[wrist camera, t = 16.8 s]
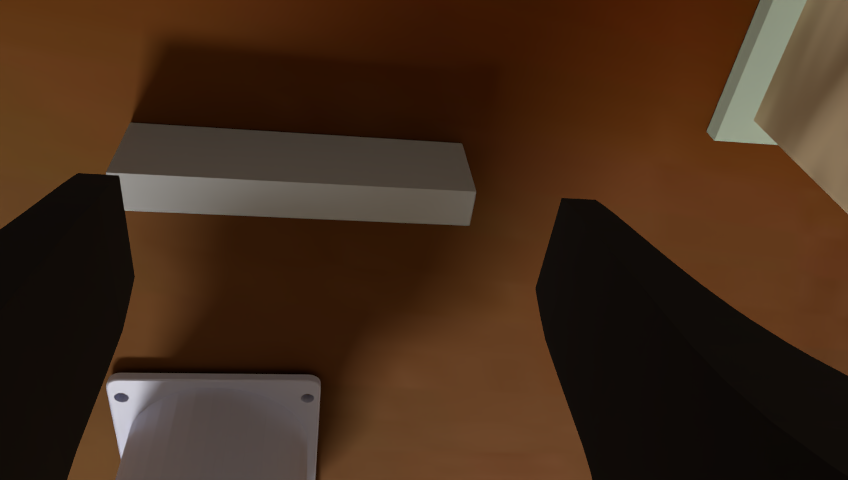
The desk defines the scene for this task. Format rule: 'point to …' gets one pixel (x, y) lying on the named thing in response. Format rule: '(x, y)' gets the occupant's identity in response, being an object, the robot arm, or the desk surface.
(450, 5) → the desk surface
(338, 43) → the desk surface
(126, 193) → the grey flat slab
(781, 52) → the mat
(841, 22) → the block
